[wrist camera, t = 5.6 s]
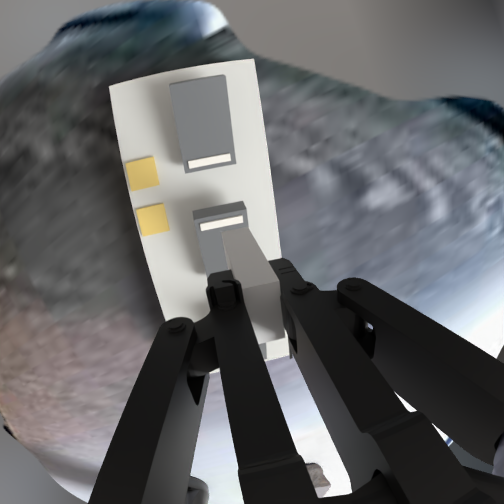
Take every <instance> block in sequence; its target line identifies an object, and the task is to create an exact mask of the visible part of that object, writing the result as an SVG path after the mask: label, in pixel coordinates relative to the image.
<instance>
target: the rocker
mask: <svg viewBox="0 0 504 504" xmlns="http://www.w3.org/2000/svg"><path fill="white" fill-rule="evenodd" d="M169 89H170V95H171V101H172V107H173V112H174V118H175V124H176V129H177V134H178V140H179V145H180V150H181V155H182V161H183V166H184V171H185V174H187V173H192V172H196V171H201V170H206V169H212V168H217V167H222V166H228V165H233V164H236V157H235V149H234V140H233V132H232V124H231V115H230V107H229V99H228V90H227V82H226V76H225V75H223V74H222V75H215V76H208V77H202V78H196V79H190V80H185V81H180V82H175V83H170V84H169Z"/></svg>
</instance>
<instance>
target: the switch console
mask: <svg viewBox="0 0 504 504" xmlns="http://www.w3.org/2000/svg"><path fill="white" fill-rule="evenodd" d="M222 74H223V75H225V76H226V82H227V90H228V99H229V107H230V115H231V124H232V132H233V140H234V149H235V157H236V164H233V165H228V166H222V167H217V168H212V169H206V170H201V171H196V172H192V173H187V174H185V171H184V166H183V161H182V155H181V150H180V145H179V140H178V134H177V129H176V124H175V118H174V112H173V107H172V101H171V95H170V89H169V84H170V83H175V82H180V81H185V80H190V79H196V78H202V77H208V76H215V75H222ZM109 89H110V96H111V103H112V109H113V115H114V121H115V127H116V132H117V138H118V143H119V148H120V153H121V158H122V163H123V168H124V172H125V177H126V181H127V186H128V190H129V195H130V199H131V203H132V207H133V211H134V215H135V219H136V223H137V227H138V231H139V234H140V238H141V242H142V245H143V249H144V252H145V256H146V259H147V263H148V266H149V270H150V273H151V276H152V280H153V283H154V286H155V289H156V293H157V296H158V299H159V302H160V305H161V308H162V311H163V314H164V317H165V320H166V321H167V320H170V319H172V318H175V317H187V318H190V319H191V320H192V321H193V322H196V321H199V320H201V319H203V318H204V317H205V316H207V315H208V314H209V312H210V307H209V303H208V299H207V295H206V287H207V286H208V284H207V276H206V272H205V267H204V263H203V259H202V255H201V251H200V246H199V242H198V238H197V233H196V229H195V224H194V220H193V212H192V211H194V210H198V209H203V208H208V207H213V206H218V205H223V204H228V203H233V202H238V201H243V202H244V204H245V206H246V209H247V216H248V225H249V230H250V231H251V233H252V235H253V236H254V238H255V240H256V242H257V243H258V245H259V247H260V248H261V250H262V252H263V254H264V255H265V257H266V259H267V260H268V261H269V260H274V259H279V258H281V250H280V242H279V234H278V225H277V217H276V210H275V202H274V194H273V186H272V179H271V171H270V164H269V157H268V150H267V143H266V136H265V129H264V122H263V115H262V108H261V102H260V95H259V89H258V82H257V76H256V70H255V63H254V59H247V60H238V61H229V62H221V63H214V64H207V65H201V66H195V67H189V68H184V69H178V70H173V71H168V72H163V73H159V74H154V75H150V76H146V77H142V78H138V79H134V80H130V81H126V82H122V83H119V84H115V85H112V86H109ZM284 329H285V328H284ZM266 349H267V359H265V360H264V361H268V360H272V359H276V358H280V357H284V356H288V355H289V345H288V335H287V332H286V330H285V338H282V339H278V340H274V341H270V342H266ZM215 372H220V368H218V369H216V370H214V371H212V372H209V374H210V373H215Z"/></svg>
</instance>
